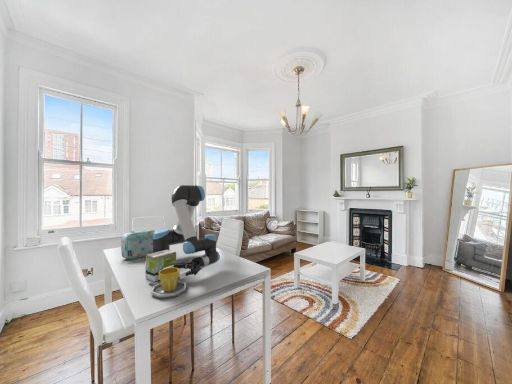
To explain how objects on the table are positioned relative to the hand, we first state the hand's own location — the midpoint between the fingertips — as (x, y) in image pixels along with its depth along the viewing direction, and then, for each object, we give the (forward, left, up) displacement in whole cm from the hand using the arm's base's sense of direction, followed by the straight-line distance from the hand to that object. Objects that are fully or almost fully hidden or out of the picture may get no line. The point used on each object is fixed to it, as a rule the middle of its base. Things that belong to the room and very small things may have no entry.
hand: (171, 273), depth 118 cm
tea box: (-21, +9, -9) cm, 25 cm away
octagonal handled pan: (-4, -1, -9) cm, 10 cm away
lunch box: (-71, +27, -9) cm, 77 cm away
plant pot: (0, -2, -8) cm, 8 cm away
